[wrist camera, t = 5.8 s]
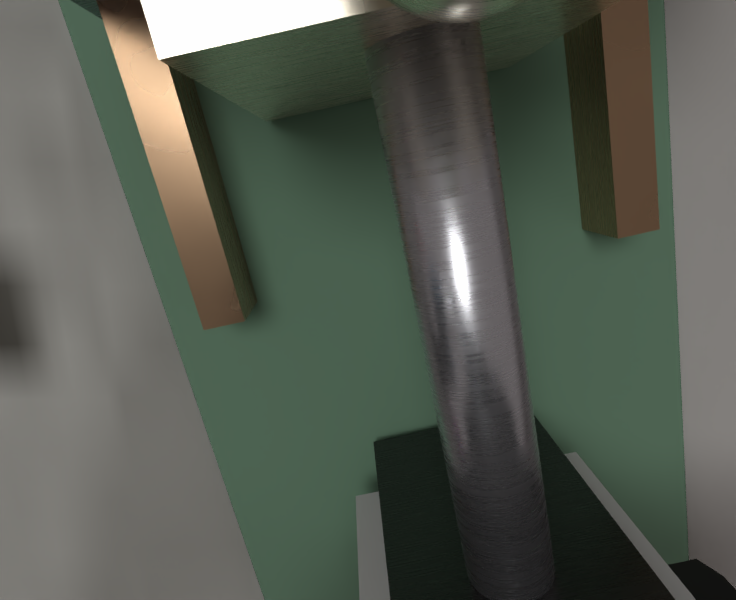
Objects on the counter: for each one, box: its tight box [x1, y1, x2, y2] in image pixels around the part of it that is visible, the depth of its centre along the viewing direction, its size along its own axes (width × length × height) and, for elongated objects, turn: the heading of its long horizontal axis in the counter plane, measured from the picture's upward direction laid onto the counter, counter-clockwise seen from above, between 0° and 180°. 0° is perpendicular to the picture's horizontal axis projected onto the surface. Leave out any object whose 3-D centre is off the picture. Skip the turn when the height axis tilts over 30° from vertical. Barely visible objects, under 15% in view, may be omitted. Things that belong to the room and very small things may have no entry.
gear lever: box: [141, 0, 675, 600], centre depth 8 cm, size 15×6×11 cm, turn 12°
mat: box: [58, 0, 689, 600], centre depth 14 cm, size 35×14×1 cm, turn 12°
